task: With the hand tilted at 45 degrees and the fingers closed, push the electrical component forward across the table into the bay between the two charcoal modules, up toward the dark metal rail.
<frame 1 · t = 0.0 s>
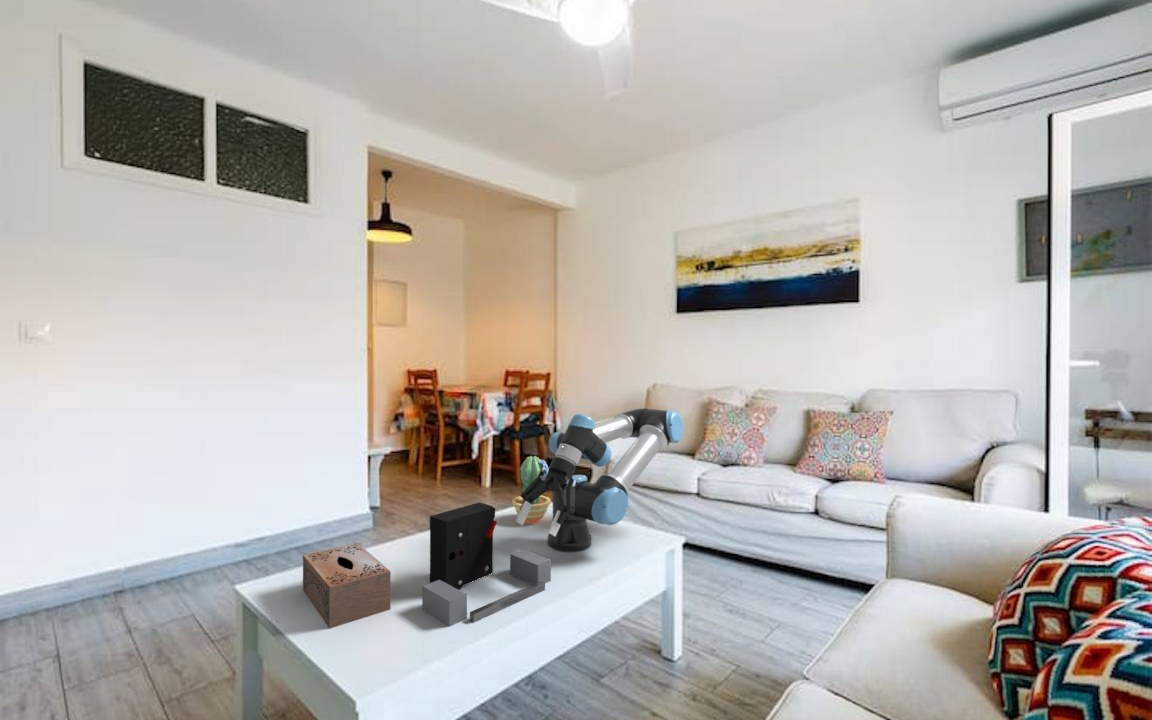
hand: (534, 528, 148), 15 cm above the table, tool tilted 35°, fingers open, 13 cm apart
tissue box cover: (345, 601, 137), on the table
metal rail: (509, 604, 135), on the table
electrical component: (462, 580, 149), on the table
potted cactus: (531, 521, 203), on the table
module 1: (444, 613, 130), on the table
module 2: (530, 577, 151), on the table
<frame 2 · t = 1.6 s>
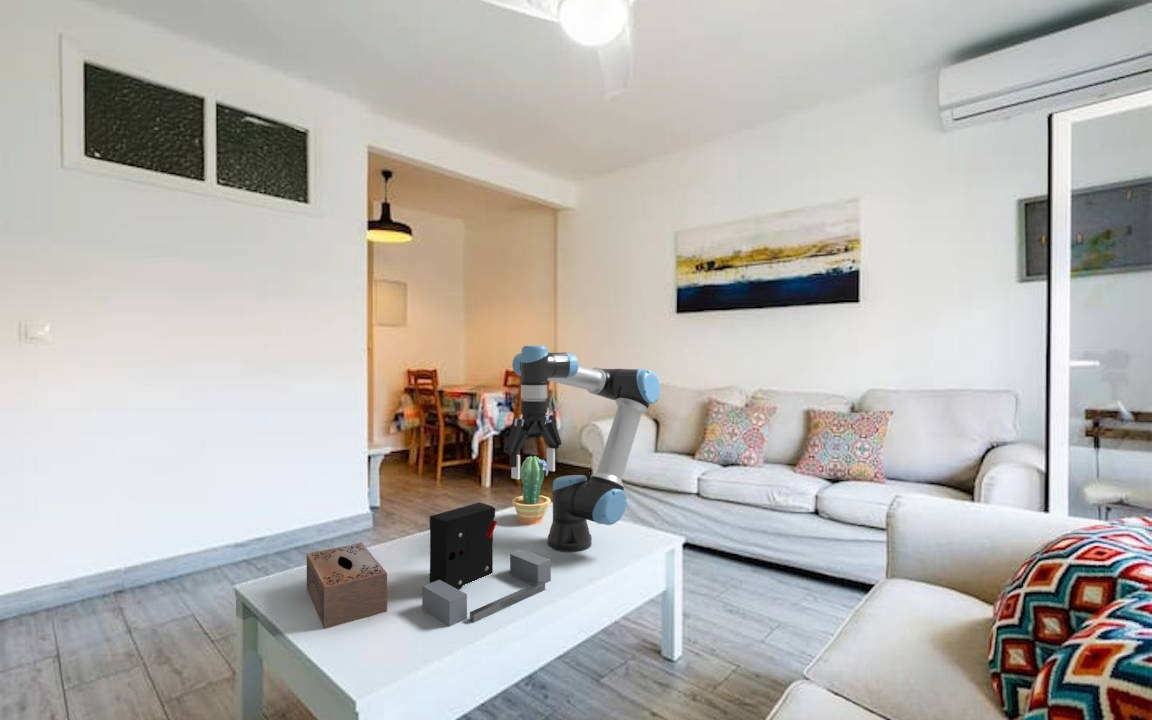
hand: (533, 474, 148), 31 cm above the table, tool pointing down, fingers open, 13 cm apart
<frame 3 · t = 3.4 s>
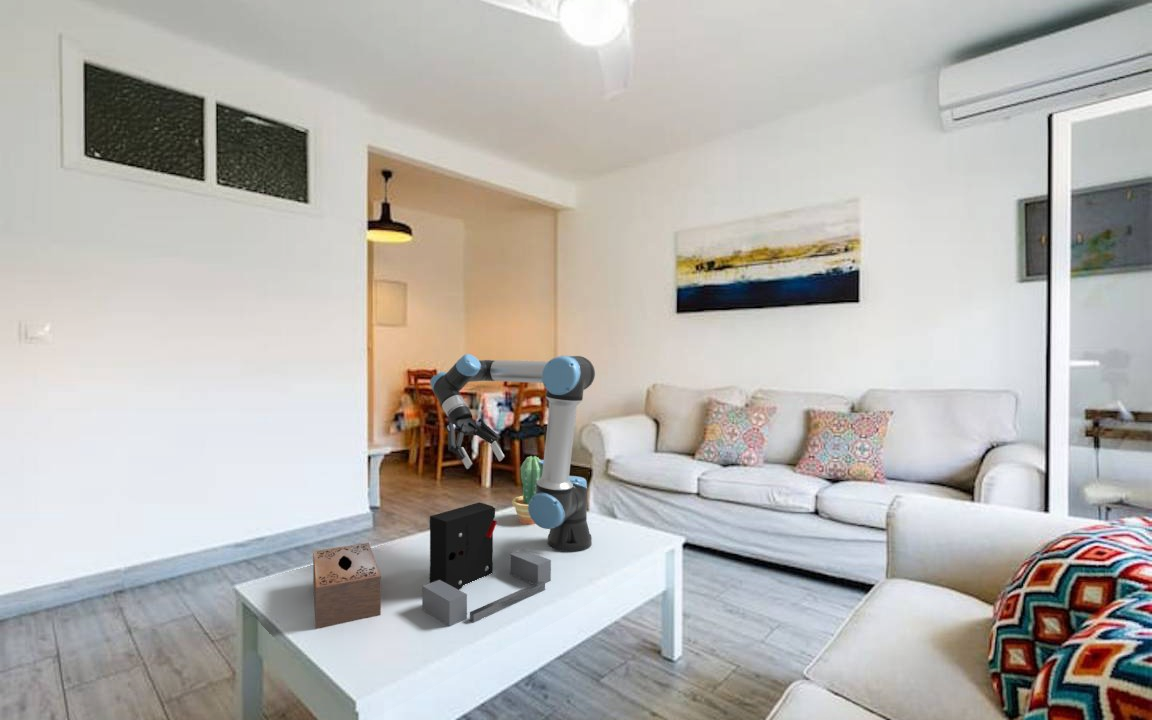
hand: (486, 462, 169), 30 cm above the table, tool tilted 45°, fingers open, 13 cm apart
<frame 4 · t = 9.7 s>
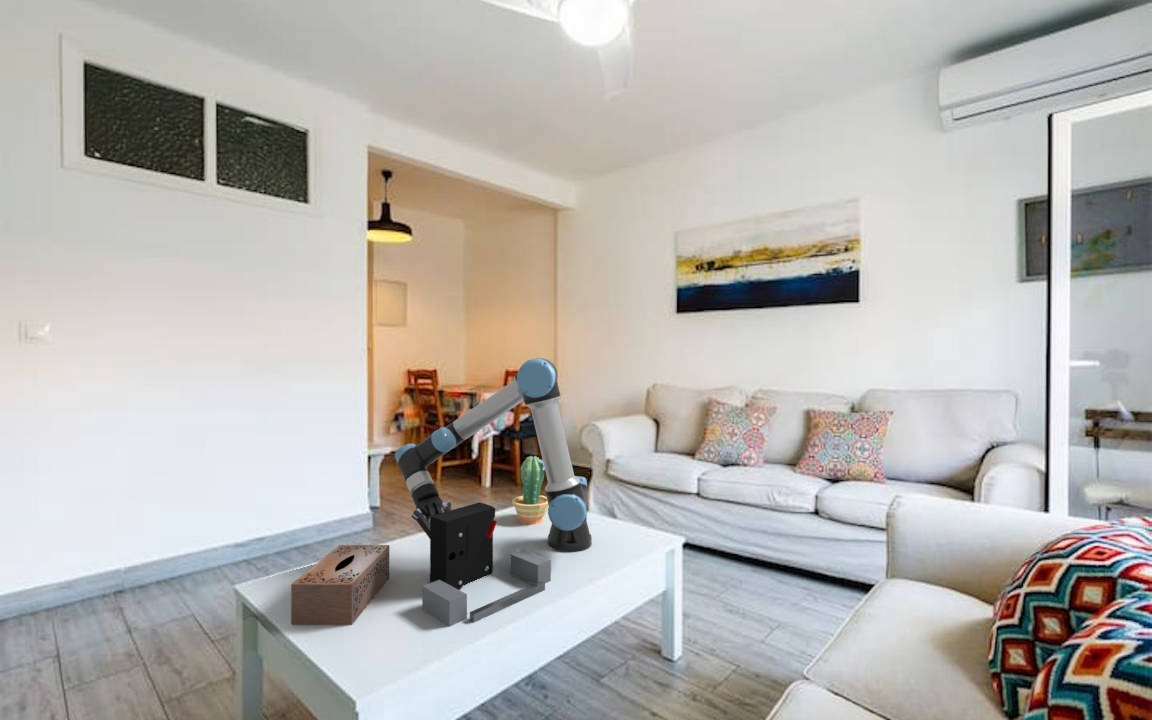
hand: (453, 557, 150), 6 cm above the table, tool tilted 45°, fingers closed
electrical component: (462, 580, 149), on the table, touching gripper
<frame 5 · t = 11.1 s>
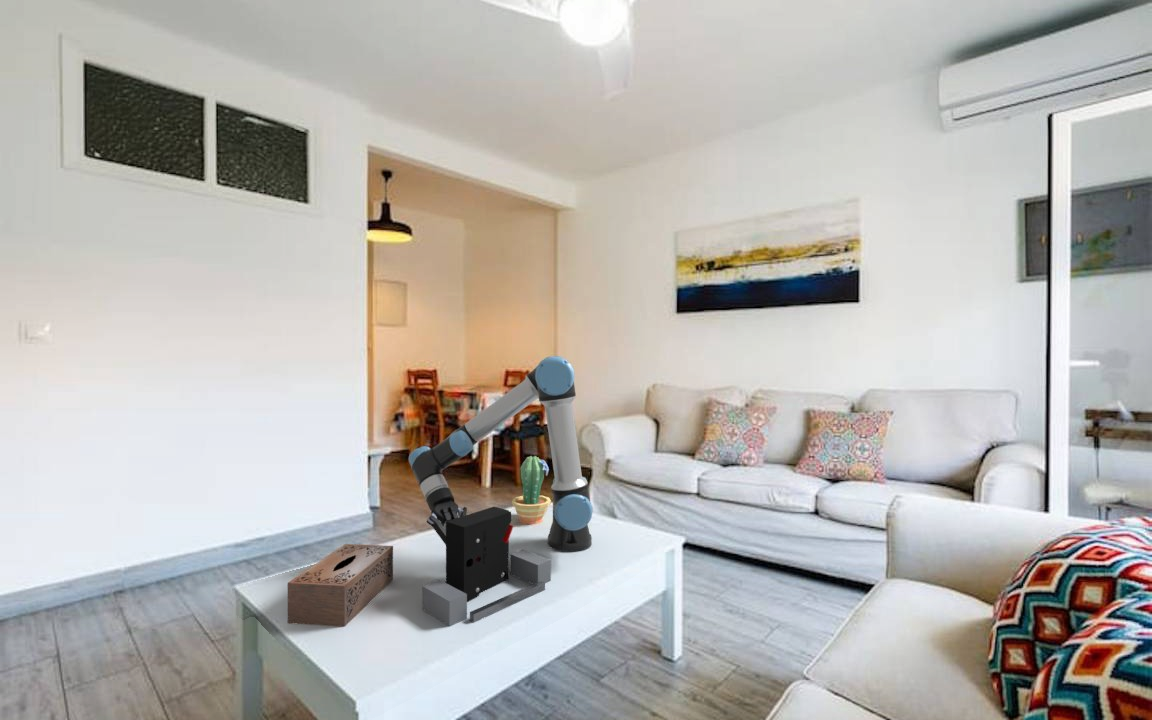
hand: (469, 564, 145), 6 cm above the table, tool tilted 45°, fingers closed
electrical component: (477, 587, 145), on the table, touching gripper
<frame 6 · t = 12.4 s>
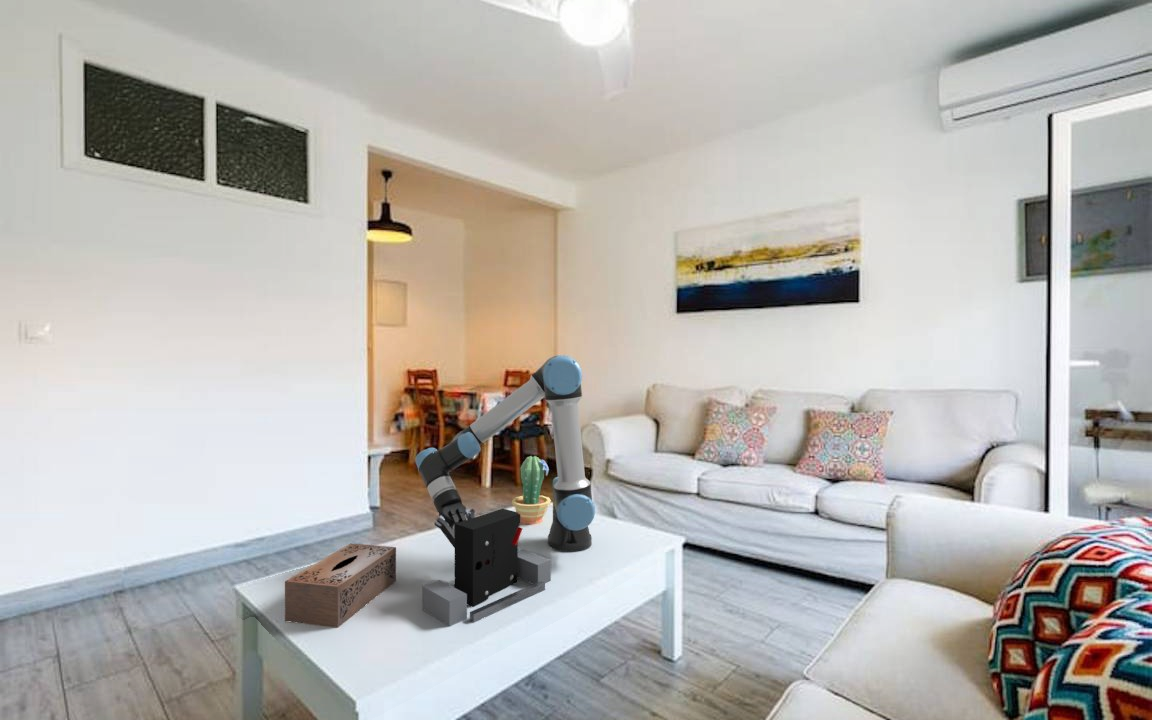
hand: (478, 566, 144), 6 cm above the table, tool tilted 45°, fingers closed
electrical component: (486, 590, 143), on the table, touching gripper
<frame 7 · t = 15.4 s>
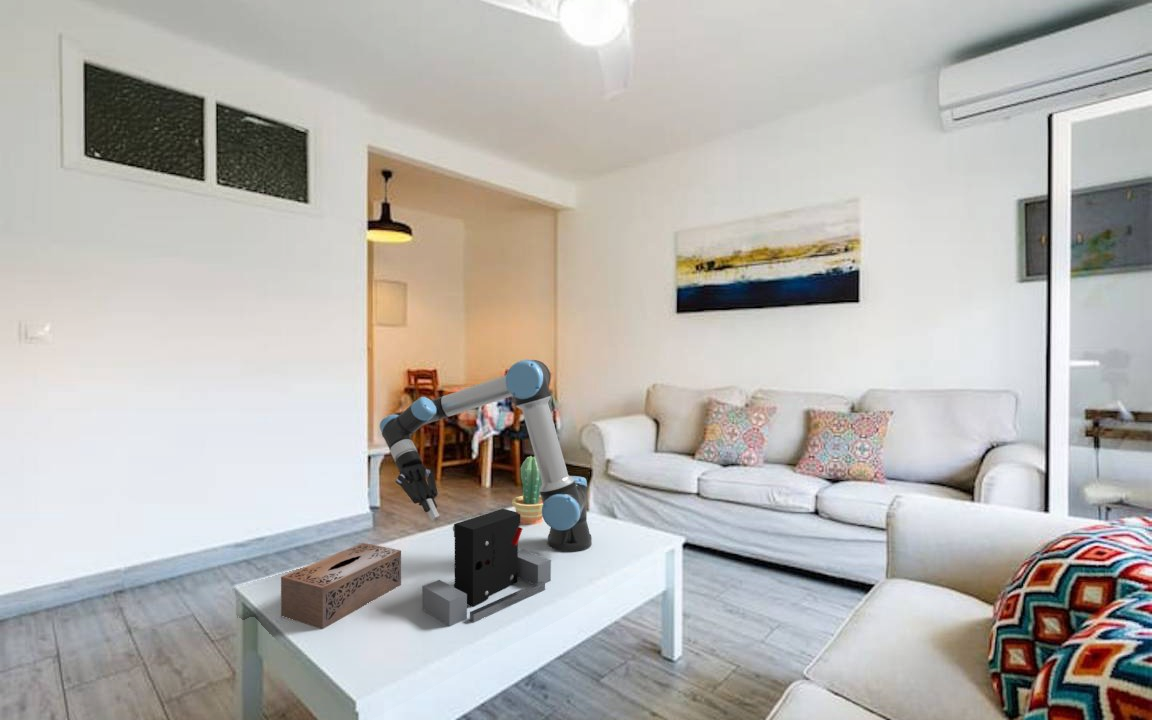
hand: (435, 519, 157), 15 cm above the table, tool tilted 45°, fingers closed
electrical component: (486, 590, 143), on the table
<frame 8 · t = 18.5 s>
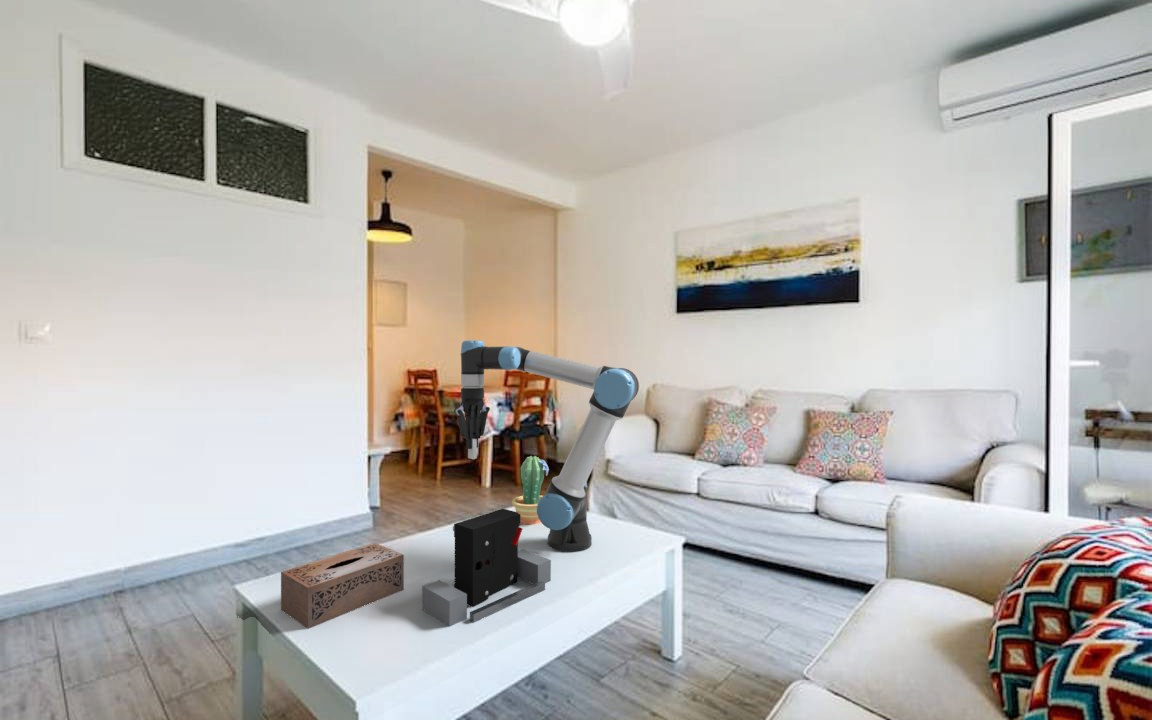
hand: (472, 458, 172), 30 cm above the table, tool pointing down, fingers closed
at the end: electrical component inside the target area (3.2 cm from its centre), on the table; electrical component tilted 0° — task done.
